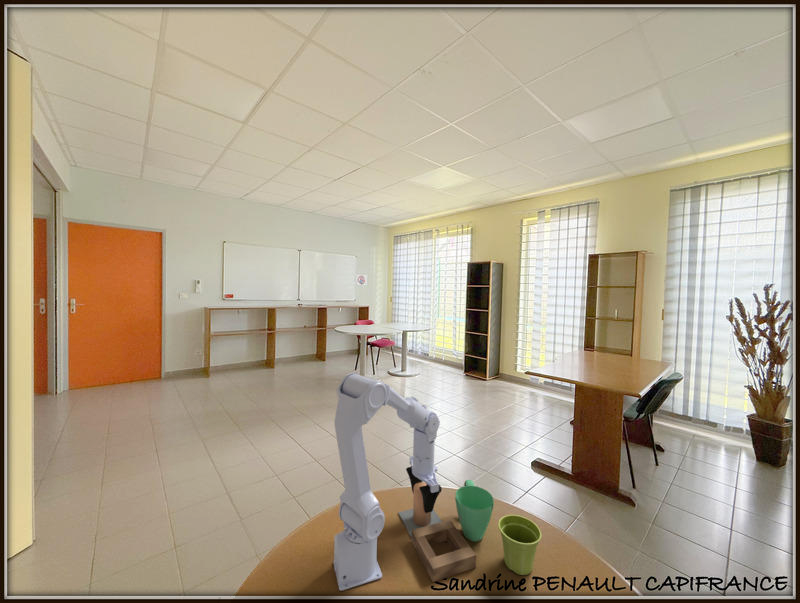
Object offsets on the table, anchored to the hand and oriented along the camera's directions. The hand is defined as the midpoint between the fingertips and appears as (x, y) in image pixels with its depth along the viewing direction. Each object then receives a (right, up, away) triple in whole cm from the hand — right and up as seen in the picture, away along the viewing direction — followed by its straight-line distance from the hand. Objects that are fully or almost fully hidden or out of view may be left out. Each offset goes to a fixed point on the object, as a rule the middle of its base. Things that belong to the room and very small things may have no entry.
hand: (422, 502), depth 89 cm
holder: (+4, -6, -10) cm, 13 cm away
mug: (+13, -6, -2) cm, 14 cm away
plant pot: (+22, -7, -13) cm, 26 cm away
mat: (0, -5, 0) cm, 5 cm away
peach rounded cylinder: (0, -5, 0) cm, 5 cm away
